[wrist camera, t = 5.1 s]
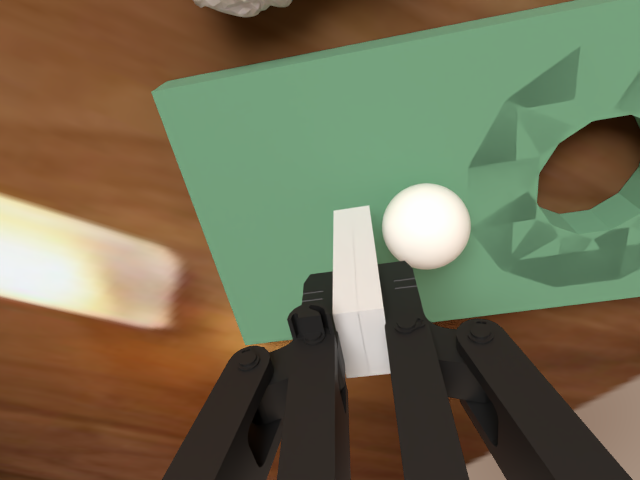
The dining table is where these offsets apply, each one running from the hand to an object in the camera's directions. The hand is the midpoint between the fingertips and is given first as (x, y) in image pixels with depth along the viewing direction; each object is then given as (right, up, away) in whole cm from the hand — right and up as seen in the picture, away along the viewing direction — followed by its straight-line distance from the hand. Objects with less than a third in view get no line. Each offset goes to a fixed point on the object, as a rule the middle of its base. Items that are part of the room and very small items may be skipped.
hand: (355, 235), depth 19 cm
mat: (+5, +3, +3) cm, 6 cm away
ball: (+3, 0, 0) cm, 3 cm away
